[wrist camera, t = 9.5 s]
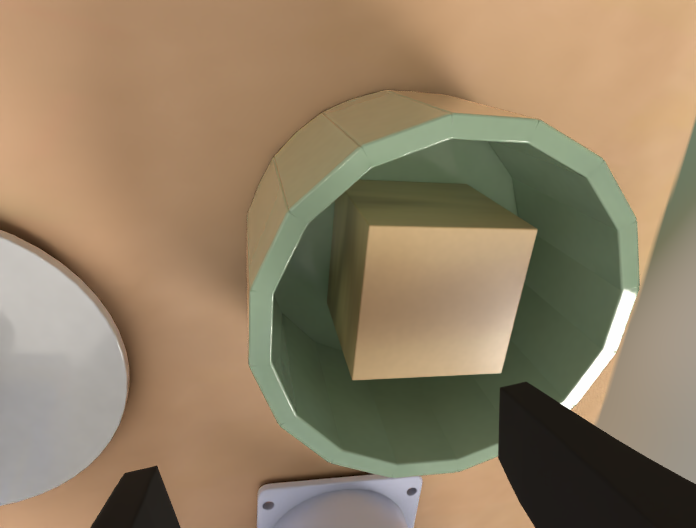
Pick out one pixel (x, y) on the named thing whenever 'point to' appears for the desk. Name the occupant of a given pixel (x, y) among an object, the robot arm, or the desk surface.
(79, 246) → the desk surface
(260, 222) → the pot
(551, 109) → the desk surface
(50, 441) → the lid
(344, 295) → the block
